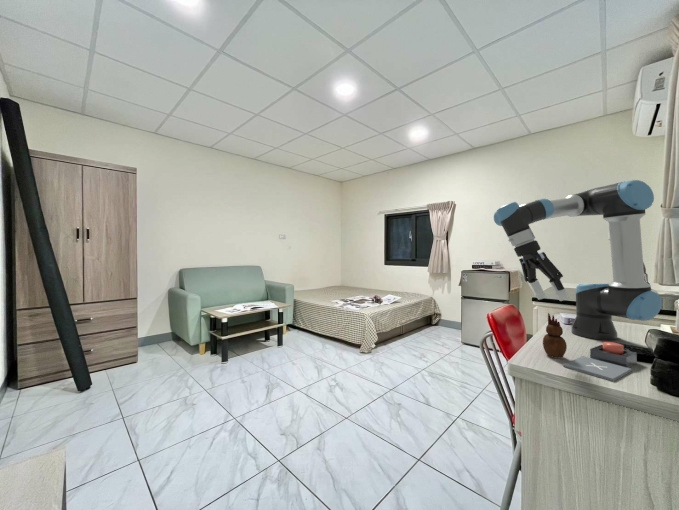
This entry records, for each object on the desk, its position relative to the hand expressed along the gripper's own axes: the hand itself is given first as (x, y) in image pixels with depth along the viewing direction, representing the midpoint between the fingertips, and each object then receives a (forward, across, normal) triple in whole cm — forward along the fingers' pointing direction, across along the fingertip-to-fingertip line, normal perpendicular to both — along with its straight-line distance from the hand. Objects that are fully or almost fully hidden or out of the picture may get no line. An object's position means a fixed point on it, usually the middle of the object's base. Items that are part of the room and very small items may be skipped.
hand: (552, 299), depth 96 cm
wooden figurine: (+20, -5, -6) cm, 21 cm away
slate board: (+23, +4, 0) cm, 24 cm away
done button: (+23, -3, +11) cm, 26 cm away
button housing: (+26, -4, +10) cm, 28 cm away
